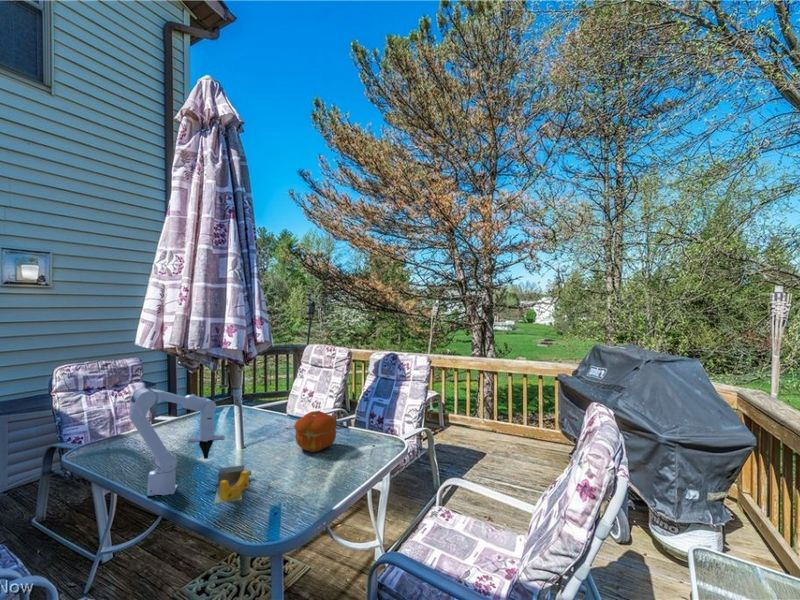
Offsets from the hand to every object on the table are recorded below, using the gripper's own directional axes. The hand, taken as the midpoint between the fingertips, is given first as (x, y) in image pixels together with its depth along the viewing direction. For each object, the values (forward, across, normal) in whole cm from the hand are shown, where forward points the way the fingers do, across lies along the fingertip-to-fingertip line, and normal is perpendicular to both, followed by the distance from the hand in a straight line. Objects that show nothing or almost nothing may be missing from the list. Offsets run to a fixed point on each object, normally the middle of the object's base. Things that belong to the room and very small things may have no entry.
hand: (206, 457), depth 168 cm
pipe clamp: (+10, +14, -18) cm, 24 cm away
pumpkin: (+10, +51, +23) cm, 57 cm away
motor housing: (+9, +12, -13) cm, 20 cm away
